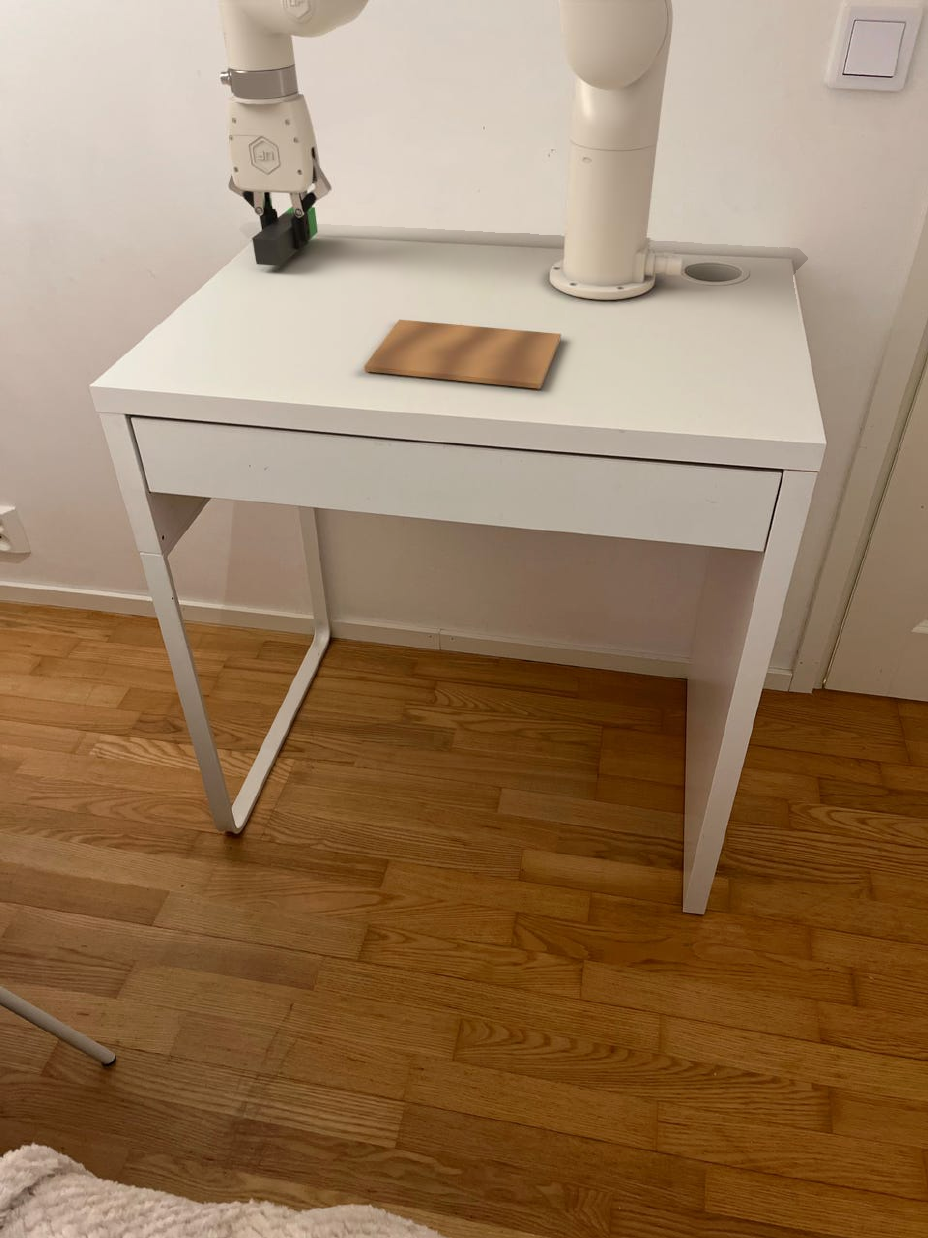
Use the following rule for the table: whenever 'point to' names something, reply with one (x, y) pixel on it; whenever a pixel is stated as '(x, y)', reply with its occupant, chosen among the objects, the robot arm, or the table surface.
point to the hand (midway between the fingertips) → (287, 244)
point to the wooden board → (466, 353)
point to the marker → (279, 239)
